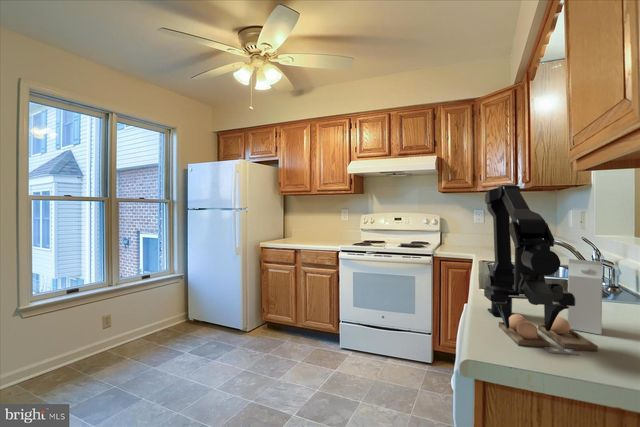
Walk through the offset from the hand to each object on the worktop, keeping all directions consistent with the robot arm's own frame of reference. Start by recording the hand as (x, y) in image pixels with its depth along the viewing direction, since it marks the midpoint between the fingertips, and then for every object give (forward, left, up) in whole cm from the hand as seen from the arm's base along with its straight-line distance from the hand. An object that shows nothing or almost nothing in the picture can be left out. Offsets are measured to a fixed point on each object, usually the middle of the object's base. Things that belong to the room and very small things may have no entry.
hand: (527, 329), depth 81 cm
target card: (+5, +5, -3) cm, 8 cm away
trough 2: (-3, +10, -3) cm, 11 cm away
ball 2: (0, 0, 0) cm, 0 cm away
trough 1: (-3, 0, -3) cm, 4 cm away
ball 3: (-5, +10, 0) cm, 11 cm away
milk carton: (-12, +20, -3) cm, 23 cm away
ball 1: (-5, 0, 0) cm, 6 cm away
